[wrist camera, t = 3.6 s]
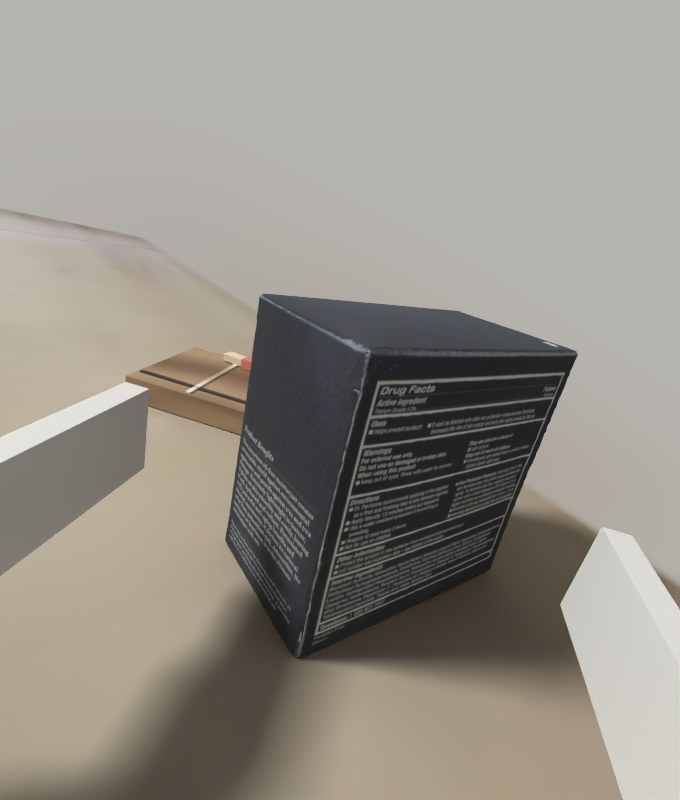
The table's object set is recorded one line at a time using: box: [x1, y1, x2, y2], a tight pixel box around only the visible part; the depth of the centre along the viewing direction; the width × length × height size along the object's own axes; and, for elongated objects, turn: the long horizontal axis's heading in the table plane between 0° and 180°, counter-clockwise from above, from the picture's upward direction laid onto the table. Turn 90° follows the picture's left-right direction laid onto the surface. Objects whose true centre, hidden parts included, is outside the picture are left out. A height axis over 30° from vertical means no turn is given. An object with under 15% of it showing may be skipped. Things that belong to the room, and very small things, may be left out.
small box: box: [225, 294, 578, 657], centre depth 18 cm, size 11×6×10 cm, turn 125°
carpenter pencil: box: [223, 352, 252, 372], centre depth 31 cm, size 14×1×1 cm, turn 67°
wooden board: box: [126, 348, 250, 435], centre depth 30 cm, size 8×18×2 cm, turn 77°
